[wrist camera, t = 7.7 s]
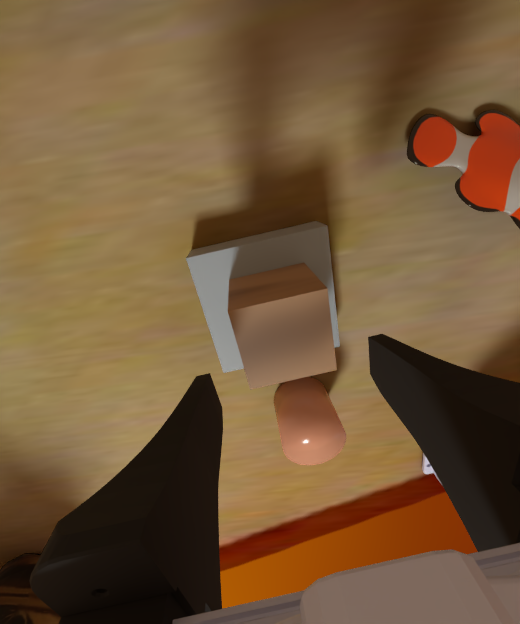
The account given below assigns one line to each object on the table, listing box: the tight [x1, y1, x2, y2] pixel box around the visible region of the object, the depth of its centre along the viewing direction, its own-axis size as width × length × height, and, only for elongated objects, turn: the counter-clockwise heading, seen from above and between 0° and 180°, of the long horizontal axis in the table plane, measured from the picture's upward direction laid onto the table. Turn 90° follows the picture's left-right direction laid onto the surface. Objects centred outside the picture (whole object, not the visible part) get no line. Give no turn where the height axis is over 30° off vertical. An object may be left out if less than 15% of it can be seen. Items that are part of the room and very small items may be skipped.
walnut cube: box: [228, 263, 337, 390], centre depth 17 cm, size 5×5×5 cm
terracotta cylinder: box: [274, 377, 346, 465], centre depth 24 cm, size 5×5×5 cm
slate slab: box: [186, 221, 340, 373], centre depth 21 cm, size 9×9×3 cm
